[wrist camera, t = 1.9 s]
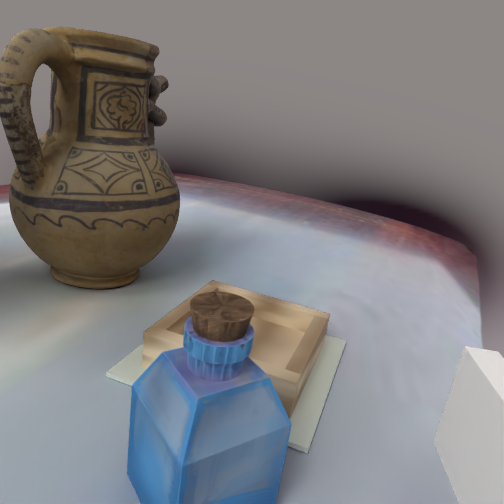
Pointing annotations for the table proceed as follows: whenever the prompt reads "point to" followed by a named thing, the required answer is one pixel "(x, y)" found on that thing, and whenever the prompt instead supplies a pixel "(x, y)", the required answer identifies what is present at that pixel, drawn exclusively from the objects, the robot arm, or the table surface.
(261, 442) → the perfume bottle
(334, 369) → the felt mat
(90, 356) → the table surface
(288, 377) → the oak box
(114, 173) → the decorative pitcher
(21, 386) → the table surface
